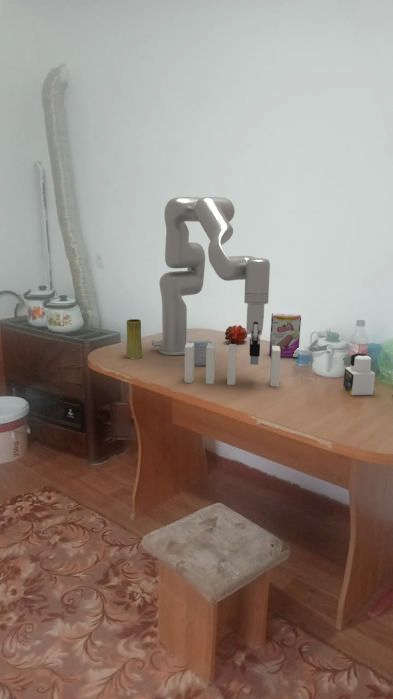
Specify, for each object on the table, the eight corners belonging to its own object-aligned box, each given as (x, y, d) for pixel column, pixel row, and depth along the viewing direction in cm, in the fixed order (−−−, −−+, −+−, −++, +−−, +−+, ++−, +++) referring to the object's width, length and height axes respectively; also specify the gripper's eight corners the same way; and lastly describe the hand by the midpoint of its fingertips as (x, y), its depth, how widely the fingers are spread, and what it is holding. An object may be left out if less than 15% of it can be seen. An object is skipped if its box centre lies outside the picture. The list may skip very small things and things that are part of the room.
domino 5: (270, 386, 167) (272, 350, 163) (270, 380, 172) (271, 345, 169) (278, 386, 166) (280, 350, 163) (277, 380, 172) (279, 346, 169)
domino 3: (227, 384, 168) (228, 348, 165) (228, 378, 174) (229, 344, 171) (234, 384, 168) (236, 349, 165) (235, 378, 174) (236, 344, 170)
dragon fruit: (222, 348, 218) (243, 348, 225) (235, 340, 211) (256, 340, 219) (217, 330, 220) (238, 330, 228) (229, 321, 214) (250, 322, 222)
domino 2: (205, 383, 169) (206, 348, 166) (207, 377, 174) (207, 343, 171) (213, 383, 168) (214, 348, 165) (214, 378, 174) (215, 343, 171)
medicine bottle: (342, 387, 166) (346, 351, 163) (364, 387, 167) (368, 351, 164) (351, 395, 159) (354, 358, 156) (373, 395, 160) (377, 358, 157)
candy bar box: (269, 357, 200) (271, 315, 195) (268, 353, 204) (271, 313, 200) (298, 358, 199) (301, 316, 194) (297, 354, 203) (300, 313, 199)
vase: (145, 355, 199) (144, 319, 196) (138, 360, 194) (137, 322, 190) (130, 354, 201) (129, 318, 198) (123, 358, 196) (122, 321, 192)
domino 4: (250, 364, 165) (251, 327, 162) (250, 359, 171) (251, 323, 168) (258, 364, 165) (259, 328, 162) (258, 359, 171) (259, 324, 168)
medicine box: (208, 362, 192) (209, 339, 190) (212, 365, 188) (213, 342, 186) (188, 363, 190) (188, 340, 188) (191, 367, 186) (192, 343, 184)
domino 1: (184, 382, 169) (184, 347, 166) (186, 376, 175) (187, 342, 172) (192, 382, 169) (192, 347, 166) (194, 377, 175) (194, 342, 172)
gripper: (244, 293, 171) (243, 346, 176) (244, 302, 155) (242, 360, 159) (267, 294, 171) (265, 347, 175) (269, 302, 154) (266, 361, 159)
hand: (254, 352), depth 167 cm, fingers closed on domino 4, 6 cm apart
